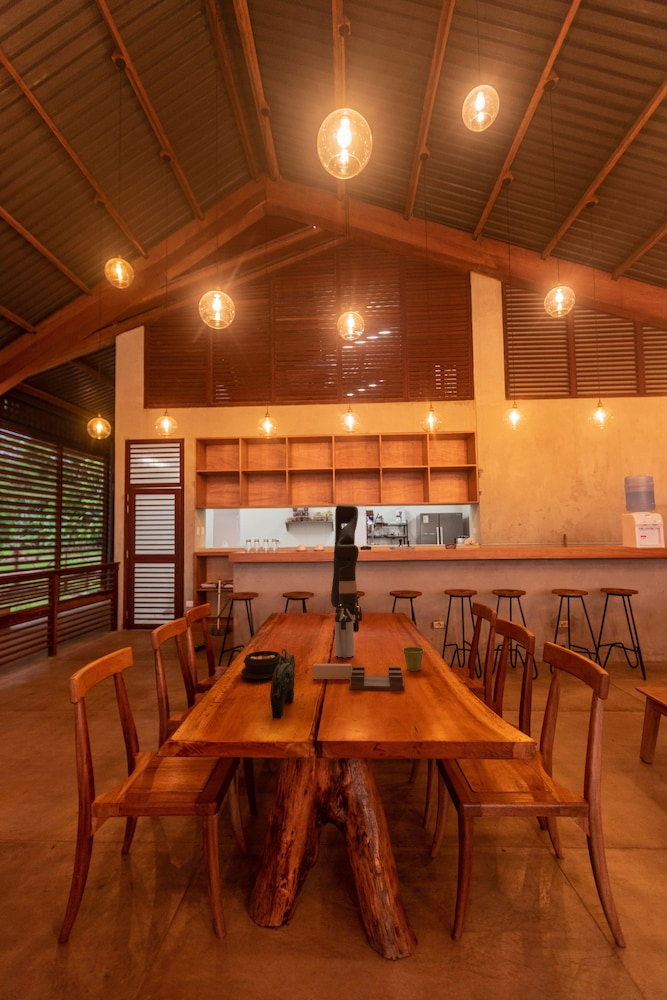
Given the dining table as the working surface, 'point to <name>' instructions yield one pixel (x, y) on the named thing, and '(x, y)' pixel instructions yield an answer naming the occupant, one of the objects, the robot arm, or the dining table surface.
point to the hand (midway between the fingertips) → (349, 630)
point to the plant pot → (413, 658)
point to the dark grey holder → (376, 680)
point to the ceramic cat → (282, 684)
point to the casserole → (260, 664)
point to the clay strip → (332, 671)
